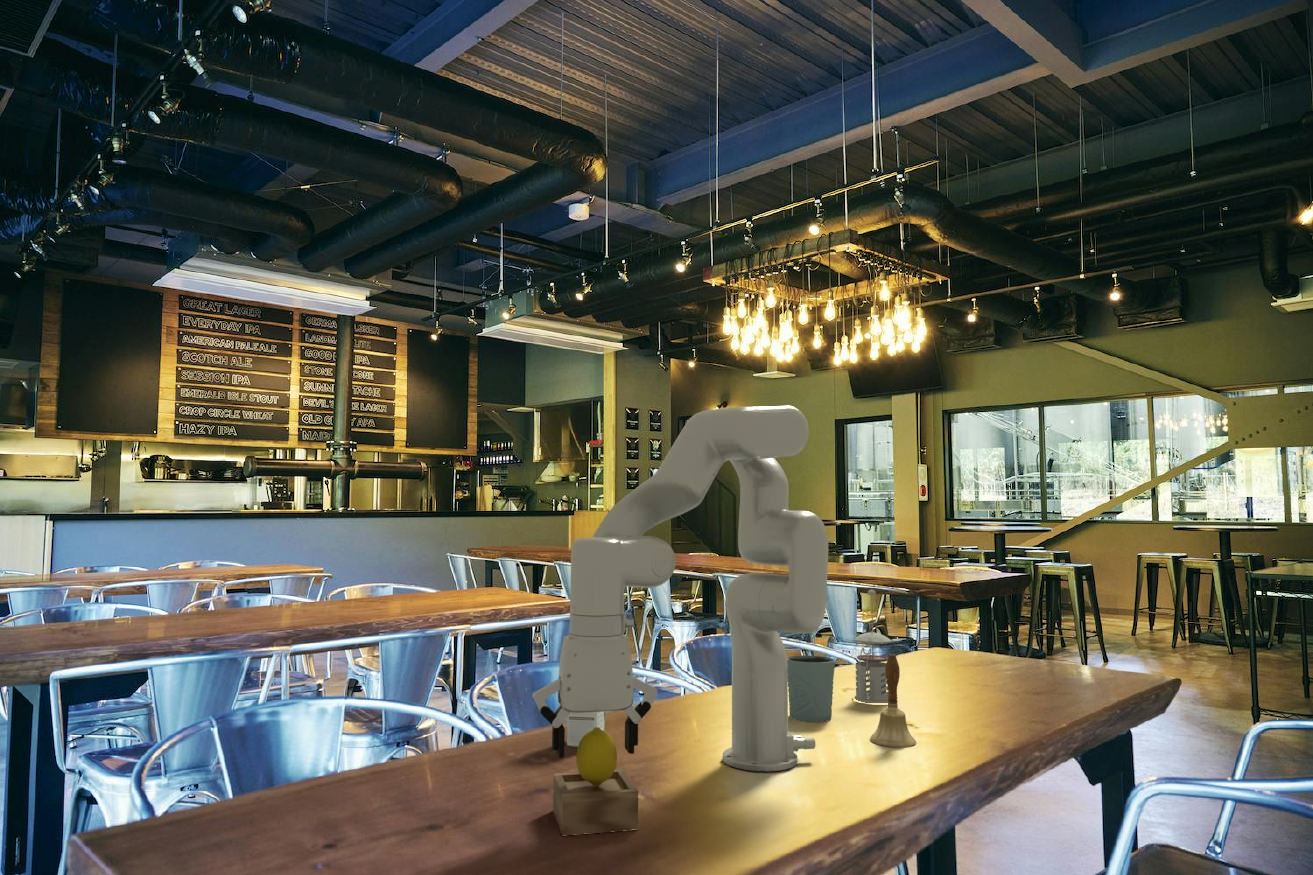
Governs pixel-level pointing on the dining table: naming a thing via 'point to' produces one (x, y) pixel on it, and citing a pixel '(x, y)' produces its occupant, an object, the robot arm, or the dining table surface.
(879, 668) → the french press
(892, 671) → the hand bell
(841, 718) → the dining table surface
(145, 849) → the dining table surface
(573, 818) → the brown wooden tray
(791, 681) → the grey teal cup
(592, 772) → the lemon
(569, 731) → the syrup box
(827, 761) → the dining table surface
